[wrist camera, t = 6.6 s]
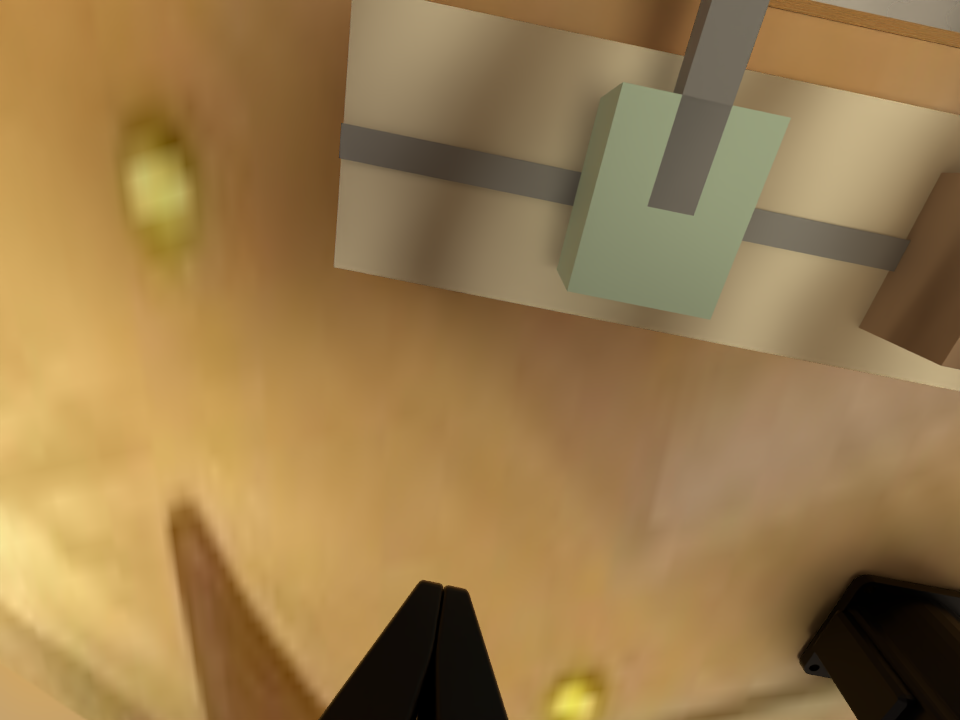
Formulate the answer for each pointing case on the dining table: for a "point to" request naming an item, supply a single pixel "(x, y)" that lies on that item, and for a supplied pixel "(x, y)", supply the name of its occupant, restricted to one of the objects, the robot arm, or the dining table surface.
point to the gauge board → (558, 166)
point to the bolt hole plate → (888, 16)
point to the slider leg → (674, 176)
